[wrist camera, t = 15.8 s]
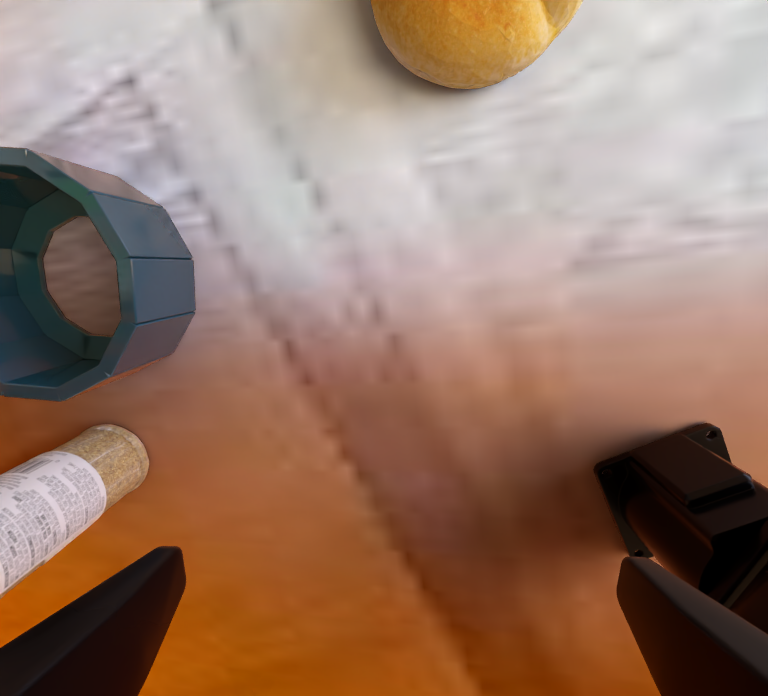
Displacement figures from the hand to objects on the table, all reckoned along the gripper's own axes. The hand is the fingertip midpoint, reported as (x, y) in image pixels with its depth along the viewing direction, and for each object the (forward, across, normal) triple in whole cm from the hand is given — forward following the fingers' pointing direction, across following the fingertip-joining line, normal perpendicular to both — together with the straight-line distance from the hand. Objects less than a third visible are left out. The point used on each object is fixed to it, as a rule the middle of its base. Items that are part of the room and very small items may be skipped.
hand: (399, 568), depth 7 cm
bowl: (+14, +16, -5) cm, 21 cm away
